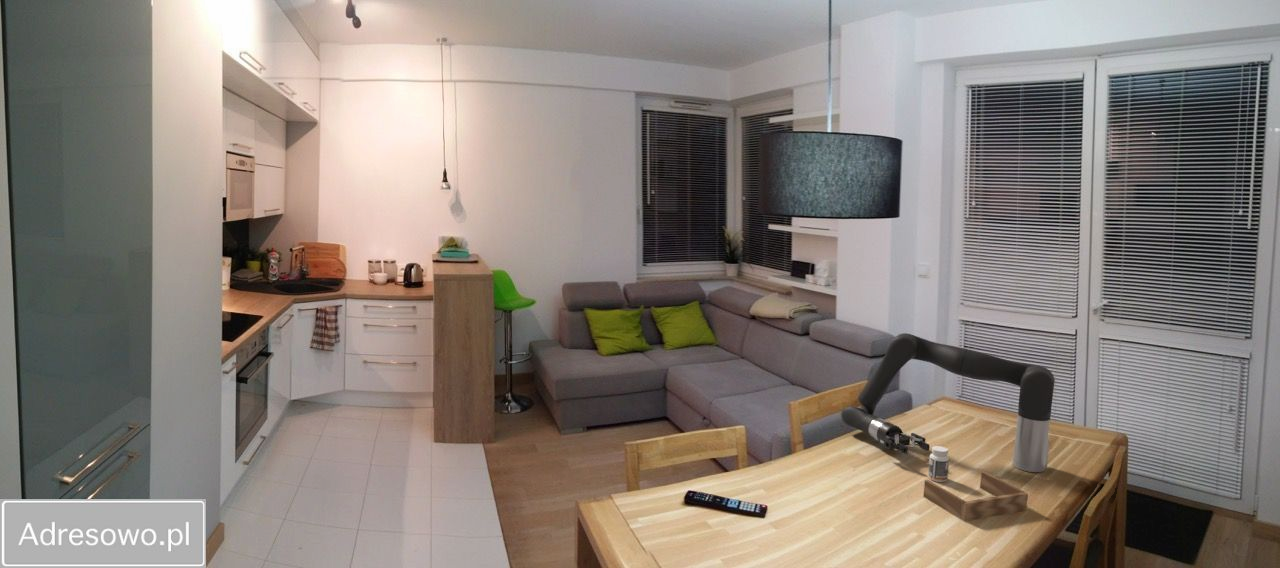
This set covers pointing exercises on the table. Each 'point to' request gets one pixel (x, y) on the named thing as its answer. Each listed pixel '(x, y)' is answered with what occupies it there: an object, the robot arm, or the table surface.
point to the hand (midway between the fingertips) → (917, 449)
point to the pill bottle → (938, 464)
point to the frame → (1003, 503)
